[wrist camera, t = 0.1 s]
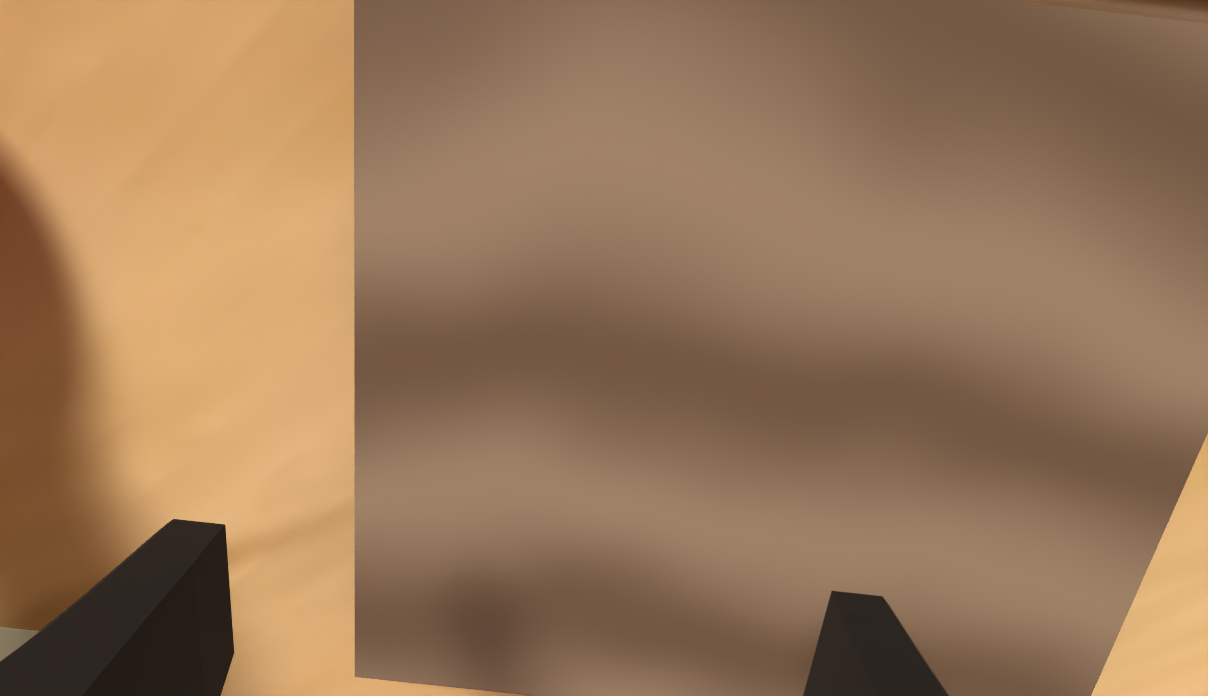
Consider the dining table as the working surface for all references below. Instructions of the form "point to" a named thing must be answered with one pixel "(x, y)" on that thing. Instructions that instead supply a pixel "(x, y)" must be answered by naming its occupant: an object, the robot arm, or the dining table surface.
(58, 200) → the dining table surface
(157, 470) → the dining table surface
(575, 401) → the walnut stand
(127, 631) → the robot arm
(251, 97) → the dining table surface
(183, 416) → the dining table surface
